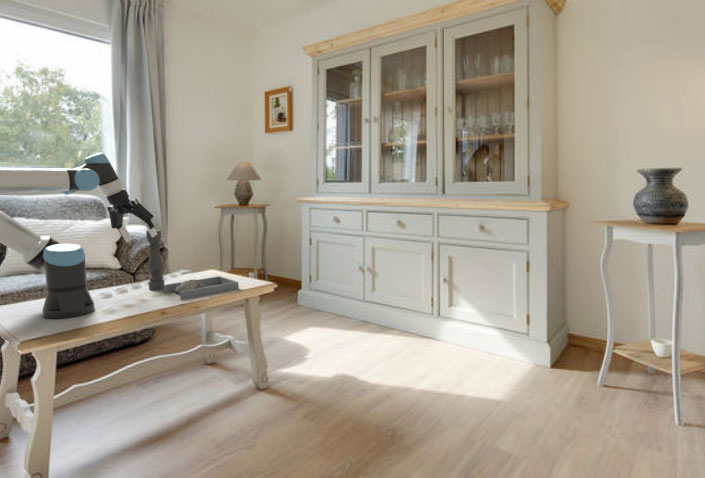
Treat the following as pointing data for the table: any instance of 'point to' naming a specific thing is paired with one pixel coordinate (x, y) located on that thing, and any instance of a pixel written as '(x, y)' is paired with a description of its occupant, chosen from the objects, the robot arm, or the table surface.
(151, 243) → the candle holder
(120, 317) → the table surface
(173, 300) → the table surface
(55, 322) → the table surface
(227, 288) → the tray
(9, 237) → the robot arm
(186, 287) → the fossilized seashell
